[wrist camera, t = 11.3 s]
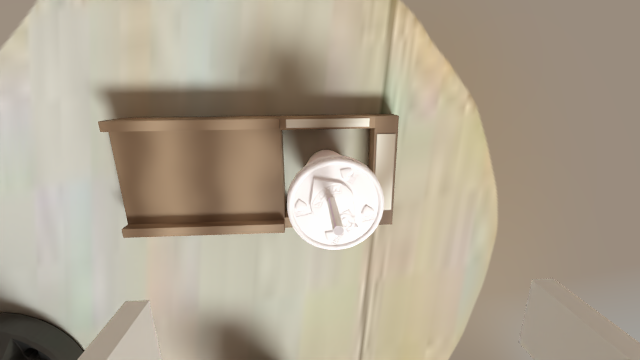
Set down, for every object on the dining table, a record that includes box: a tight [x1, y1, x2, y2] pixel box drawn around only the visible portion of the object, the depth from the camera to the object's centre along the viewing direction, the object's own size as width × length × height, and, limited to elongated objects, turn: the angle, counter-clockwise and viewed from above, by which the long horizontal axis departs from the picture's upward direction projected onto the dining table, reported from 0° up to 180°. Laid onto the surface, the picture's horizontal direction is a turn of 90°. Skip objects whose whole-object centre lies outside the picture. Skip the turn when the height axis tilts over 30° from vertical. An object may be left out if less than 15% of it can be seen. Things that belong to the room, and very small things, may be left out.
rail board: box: [98, 114, 399, 238], centre depth 27 cm, size 24×10×3 cm, turn 90°
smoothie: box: [287, 150, 384, 250], centre depth 22 cm, size 6×6×14 cm
